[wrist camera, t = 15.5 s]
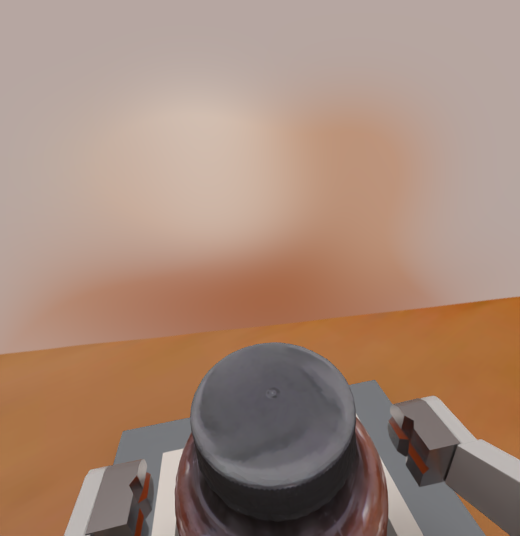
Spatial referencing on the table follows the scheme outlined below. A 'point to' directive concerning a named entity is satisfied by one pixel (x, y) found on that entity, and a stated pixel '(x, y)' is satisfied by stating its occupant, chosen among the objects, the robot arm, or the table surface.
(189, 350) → the table surface
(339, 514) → the supplement bottle
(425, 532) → the holder
